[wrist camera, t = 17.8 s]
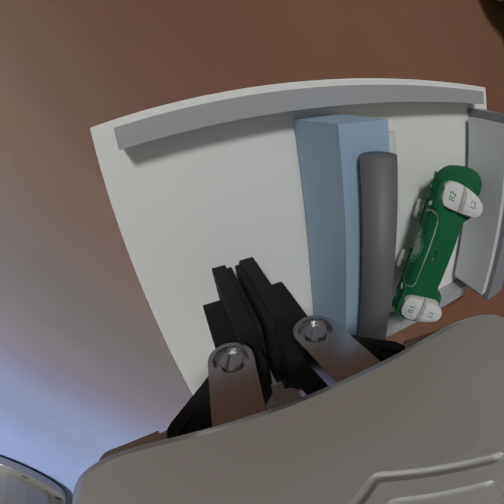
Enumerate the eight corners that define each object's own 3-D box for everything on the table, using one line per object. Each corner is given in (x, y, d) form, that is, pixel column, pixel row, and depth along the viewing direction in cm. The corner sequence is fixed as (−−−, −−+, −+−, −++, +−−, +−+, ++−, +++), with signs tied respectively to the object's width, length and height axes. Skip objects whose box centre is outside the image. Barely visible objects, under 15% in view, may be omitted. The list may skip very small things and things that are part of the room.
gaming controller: (426, 153, 16) (434, 148, 11) (479, 174, 15) (508, 178, 10) (385, 286, 20) (374, 329, 15) (433, 305, 18) (437, 353, 13)
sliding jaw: (353, 330, 17) (395, 379, 14) (315, 345, 17) (353, 401, 13) (347, 112, 12) (423, 122, 8) (293, 119, 11) (361, 128, 7)
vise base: (460, 276, 21) (498, 303, 17) (192, 386, 17) (206, 447, 13) (473, 86, 14) (528, 94, 10) (95, 127, 10) (62, 134, 6)
